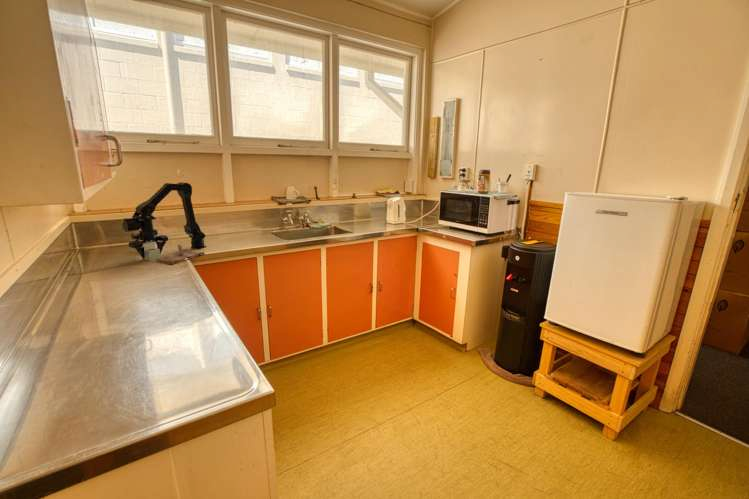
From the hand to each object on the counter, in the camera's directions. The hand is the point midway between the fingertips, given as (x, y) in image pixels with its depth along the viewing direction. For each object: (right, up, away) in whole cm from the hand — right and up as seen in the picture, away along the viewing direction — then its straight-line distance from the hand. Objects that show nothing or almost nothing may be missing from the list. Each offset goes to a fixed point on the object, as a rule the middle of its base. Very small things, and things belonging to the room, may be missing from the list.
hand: (151, 256), depth 190 cm
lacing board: (+15, -1, +3) cm, 15 cm away
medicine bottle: (-10, +4, +18) cm, 21 cm away
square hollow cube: (0, -1, 0) cm, 1 cm away
